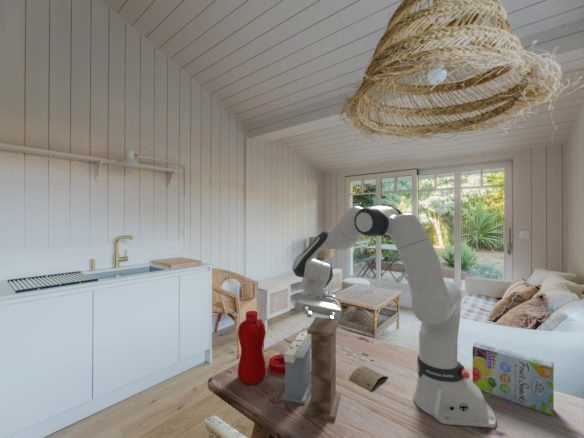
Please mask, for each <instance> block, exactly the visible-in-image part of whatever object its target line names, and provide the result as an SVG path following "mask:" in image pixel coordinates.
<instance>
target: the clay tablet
mask: <svg viewBox="0 0 584 438" xmlns="http://www.w3.org/2000/svg"><path fill="white" fill-rule="evenodd" d="M383 377H385V378H386V377H387V376H386V375H384V374H382V373H380V372H378V371H375V370H373V369H371V368H369V367H367V366H365V365H361V366H358V367H357V368H356V369H354V370H353V372H352V373H351V374H350V376H349V379H348V381H350V383H352V384H355V385H357V386H359V387H361V388H362V389H365V390H366V391H368V392H370V393H371V392H372V390H373V388H374V387H375V385H376V384H377V383H378V380H379V379H381V378H383Z"/></svg>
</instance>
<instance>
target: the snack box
mask: <svg viewBox="0 0 584 438" xmlns="http://www.w3.org/2000/svg"><path fill="white" fill-rule="evenodd" d="M554 368H555V367H554V361H552V360H549V359H548V360H547V359H544V358H541V357H537V356H532V355H529V354H525V353H522V352H521V353H520V352H517V351H512V350H510V349H506V348H501V347H497V346H493V345H491V344H489V345H488V344H485V343H482V342H478V341H475V342H474V344H473V345H472V382H473V383H474V384H476V385H477V386H478V388H479V389H480V390H481V392H484V393H487V394H490V395H493V396H495V397H498V398H501V399H504V400H507V401H509V402H512V403H515V404H517V405H521V406H524V407H527V408H529V409H532V410H535V411H539V412H540V413H542V414H546V415H549V416H553V417H554V407H555V406H554V405H555V404H554V395H555V393H554V388H555V387H554V385H555V383H554V375H555V372H554Z"/></svg>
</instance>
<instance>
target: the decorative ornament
mask: <svg viewBox="0 0 584 438" xmlns="http://www.w3.org/2000/svg"><path fill="white" fill-rule="evenodd" d="M268 370H269V371H270V372H272V373H273V374H276V375H277V374H281V375H283V374H285V361H284V358H283V354H275V355H273V356H271V357H270V358H269V359H268Z"/></svg>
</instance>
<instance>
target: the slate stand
mask: <svg viewBox="0 0 584 438" xmlns="http://www.w3.org/2000/svg"><path fill="white" fill-rule="evenodd" d="M294 340H295V339H293V340H292V341H291V343H290V344H289V345H288V347H287V348H286V349H285V351H284V353H283V354H282V355H283V358H284V354H285V352H286V351H287V350H288V348H289V347H290V345H291V344H292V343H293V341H294ZM284 374H285V376H284V377H285V381H284V383H285V385H284V386H285V387H284V388H285V390H284V391H283V393H282V394H281V400H282V401H287V402H293V403H298V404H301V405H306V402H307V401H308V397H309V394H311V393H310V392H311V341H307V342H306V343H305V345H304V347H303V348H302V350H301V352H300V353H299V355H298V356H297V358H296V360H295V361H294V363H291V362H285V373H284Z"/></svg>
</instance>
